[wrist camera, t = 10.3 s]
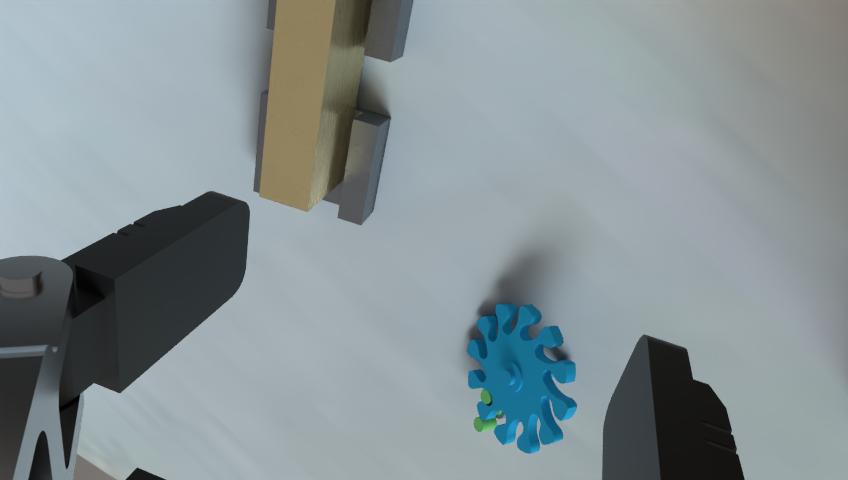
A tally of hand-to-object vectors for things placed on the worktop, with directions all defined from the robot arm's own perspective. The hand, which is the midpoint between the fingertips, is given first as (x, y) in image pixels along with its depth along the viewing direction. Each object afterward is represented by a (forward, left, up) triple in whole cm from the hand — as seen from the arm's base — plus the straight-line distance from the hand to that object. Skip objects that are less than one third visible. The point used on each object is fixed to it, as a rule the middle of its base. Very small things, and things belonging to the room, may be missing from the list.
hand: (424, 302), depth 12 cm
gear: (-5, +19, -28) cm, 34 cm away
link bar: (+12, +3, -27) cm, 29 cm away
